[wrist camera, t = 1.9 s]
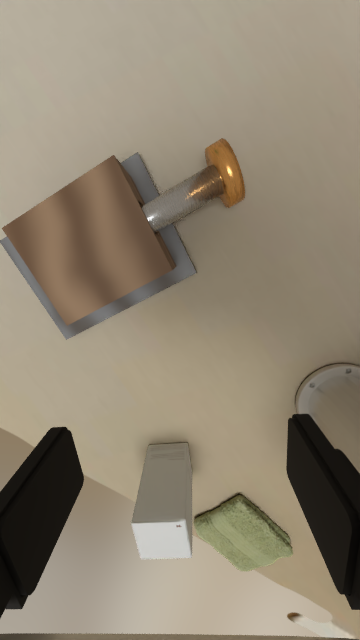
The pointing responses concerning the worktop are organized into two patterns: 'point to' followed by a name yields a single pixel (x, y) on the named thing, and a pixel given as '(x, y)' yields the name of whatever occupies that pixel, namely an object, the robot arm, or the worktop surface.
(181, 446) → the supplement box
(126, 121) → the worktop surface
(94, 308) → the bearing block
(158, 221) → the shaft
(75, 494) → the robot arm
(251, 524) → the washcloth
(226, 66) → the worktop surface
